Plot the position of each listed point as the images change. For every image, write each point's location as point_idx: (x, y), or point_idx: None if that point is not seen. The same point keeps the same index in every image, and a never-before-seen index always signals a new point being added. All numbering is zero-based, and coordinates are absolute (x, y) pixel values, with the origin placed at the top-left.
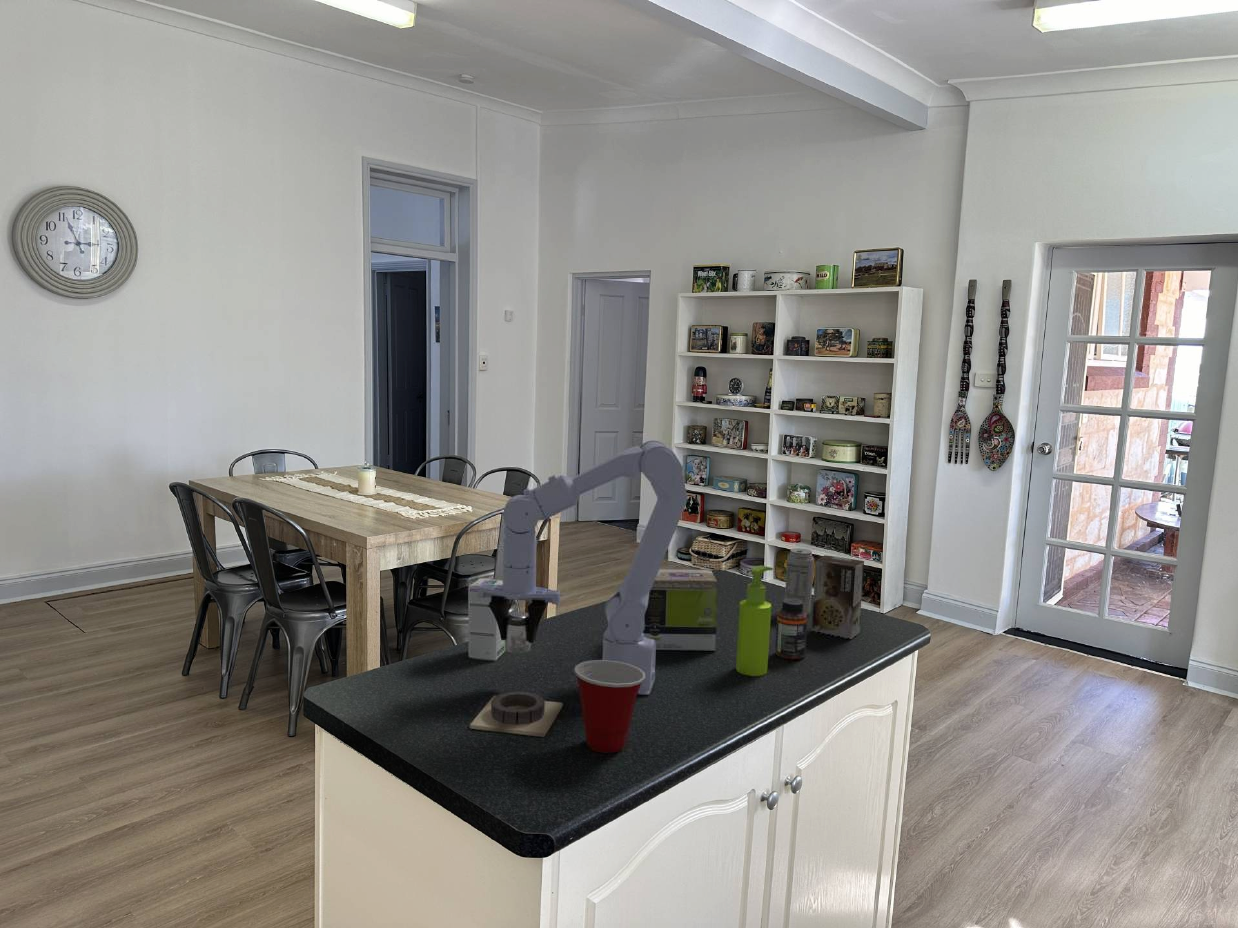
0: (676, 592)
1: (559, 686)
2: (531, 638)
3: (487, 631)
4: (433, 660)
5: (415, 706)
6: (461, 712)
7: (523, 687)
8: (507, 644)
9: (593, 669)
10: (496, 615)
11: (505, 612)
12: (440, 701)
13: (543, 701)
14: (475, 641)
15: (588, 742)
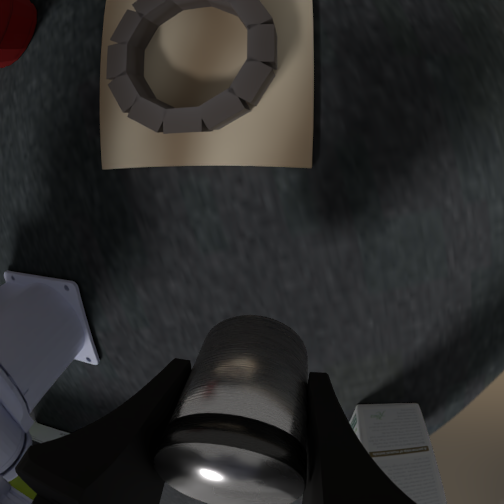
0: (30, 496)
1: (156, 292)
2: (167, 368)
3: (387, 460)
4: (486, 370)
5: (497, 88)
6: (375, 52)
7: (245, 270)
8: (291, 349)
9: None
10: (365, 471)
11: (310, 502)
12: (455, 124)
13: (110, 82)
14: (412, 433)
15: (29, 1)
